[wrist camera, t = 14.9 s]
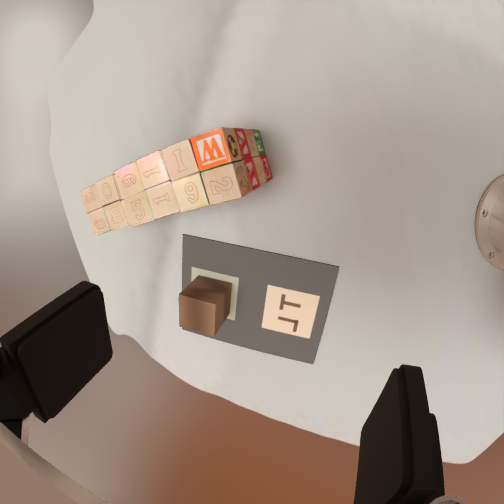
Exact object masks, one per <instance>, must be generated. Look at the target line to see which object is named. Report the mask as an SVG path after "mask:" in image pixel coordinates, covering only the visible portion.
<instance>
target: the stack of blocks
mask: <svg viewBox="0 0 504 504" xmlns="http://www.w3.org/2000/svg"><path fill="white" fill-rule="evenodd" d="M114 173H115V174H112V175H110V176H108V177H106V178H104V179H101V180H99V181H97V182H96V183H95V184H93V185H91V186H89V187H87V188H85V189H83V190H81V191H80V192H81V195H82V198H83V201H84V205H85V208H86V211H87V213H88V216H89V219H90V222H91V225H92V227H93V230H94V233H95V236H97V235H100V234H103V233H106V232H109V231H113V230H116V229H119V228H122V227H125V226H128V225H132V226H133V227H134V226H137V225H140V224H144V223H147V222H150V221H153V220H156V219H158V218H160V217H164V216H167V215H170V214H174V213H177V212H186V211H189V210H193V209H196V208H200V207H204V206H208V205H210V204H211V205H214V204H217V203H222V202H226V201H230V200H234V199H238V198H241V197H243V196H245V195H246V194H248V193H249V192H251V191H253V190H255V189H257V188H258V187H260V186H261V185H262V184H263V183H266V182H268V181H269V180H271V179H272V174H271V171H270V167H269V163H268V160H267V156H266V154H265V151H264V147H263V144H262V140H261V136H260V133H259V130H255V129H250V130H247V129H242V128H223V127H221V128H218V129H215V130H212V131H209V132H207V133H204V134H201V135H199V136H196V137H193V138H191V139H186V140H184V141H181V142H179V143H177V144H174V145H172V146H170V147H167V148H165V149H163V150H158V151H156V152H153V153H152V154H149V155H147V156H145V157H143V158H140V159H138V160H137V161H135V162H133V163H130V164H128V165H126V166H124V167H122V168H120V169H118V170H116V171H114Z"/></svg>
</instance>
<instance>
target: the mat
mask: <svg viewBox="0 0 504 504" xmlns="http://www.w3.org/2000/svg"><path fill="white" fill-rule="evenodd" d="M338 269H339V267H338V266H334V265H329V264H324V263H319V262H315V261H310V260H305V259H300V258H296V257H291V256H286V255H281V254H277V253H272V252H267V251H262V250H257V249H253V248H248V247H243V246H238V245H233V244H229V243H224V242H219V241H214V240H209V239H205V238H200V237H195V236H190V235H185V234H183V255H182V291H183V290H184V289H185V288H186V287H187V286H188V285H189V284H190V283H191V282H192V281H193V280H194V279H195V278H196V277H197V276H198V275H201V276H205V277H209V278H213V279H218V280H222V281H226V282H230V283H232V291H231V304H230V314H229V315H228V317H227V318H226V320H225V321H224V323H223V324H222V326H221V327H220V329H219V330H218V332H217V333H216V335H215V336H214V337H213V336H210V335H206V334H203V333H200V332H196V331H193V330H190V329H186V328H183V327H182V329H183V330H187V331H190V332H193V333H196V334H200V335H203V336H206V337H210V338H213V339H216V340H220V341H223V342H227V343H230V344H234V345H238V346H241V347H245V348H249V349H253V350H256V351H260V352H264V353H268V354H272V355H276V356H280V357H284V358H288V359H293V360H297V361H301V362H306V363H310V364H313V363H314V359H315V356H316V352H317V349H318V346H319V342H320V339H321V335H322V331H323V328H324V324H325V320H326V317H327V313H328V309H329V305H330V301H331V297H332V293H333V289H334V285H335V281H336V277H337V273H338Z"/></svg>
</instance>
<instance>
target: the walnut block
mask: <svg viewBox="0 0 504 504" xmlns="http://www.w3.org/2000/svg"><path fill="white" fill-rule="evenodd" d="M231 291H232V283H230V282H226V281H222V280H218V279H213V278H209V277H205V276H201V275H198V276H197V277H196V278H195V279H194V280H193V281H192V282H191V283H190V284H189V285H188V286H187V287H186V288H185V289H184V290H183V291H182V292H181V293H180V294H179V325H180V327H183V328H186V329H190V330H193V331H196V332H200V333H203V334H206V335H210V336H213V337H214V336H215V335H216V333H217V332H218V330H219V329H220V327H221V326H222V324H223V323H224V321H225V320H226V318H227V317H228V315H229V314H230V304H231Z"/></svg>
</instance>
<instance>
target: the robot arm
mask: <svg viewBox="0 0 504 504" xmlns="http://www.w3.org/2000/svg"><path fill="white" fill-rule="evenodd" d="M483 210H484V213H482V212H483ZM475 232H476V238H477V242H478V245H479V248H480V250H481V252H482V253H483V255H484V256H485V258H486V259H487V260H488V261H489V262H490V263H491V264H492V265H493V266H495V267H497V268H498V269H501V270H504V175H502V176H500V177H499V178H497V179H496V180H494V181H493V183H492V184H491V185H490V186H489V187H488V188H487V190H486V191H485V193H484V194H483V196H482V198H481V201H480V203H479V206H478V210H477V214H476V221H475ZM489 253H490V254H489ZM0 343H1V345H2V347H1V348H0V504H112V503H110V502H108V501H107V500H105V499H103V498H101V497H100V496H98V495H96V494H95V493H93V492H91V491H90V490H88V489H87V488H85V487H83V486H82V485H80V484H79V483H77V482H76V481H74V480H73V479H71V478H70V477H68V476H66V475H65V474H64V473H62V472H61V471H60V470H58V469H57V468H55V467H54V466H53V465H51V464H50V463H49V462H47V461H46V460H45V459H43V458H42V457H41V456H39V455H38V454H37V453H36V452H34V451H33V450H32V449H31V448H29V447H28V432H29V414H30V413H31V412H33V413H34V415H35V416H36V417H37V418H38V419H40V420H41V421H42V422H44V423H46V422H47V421H48V420H49V419H50V418H54V417H55V416H56V415H57V414H58V413H59V412H60V411H61V410H62V409H63V408H64V407H65V406H66V405H67V404H68V403H69V402H70V400H72V399H73V398H74V397H75V396H76V394H77V393H78V392H79V391H80V390H81V389H82V388H83V387H84V386H85V385H86V384H87V383H88V382H89V381H90V380H91V379H92V378H93V377H94V376H95V375H96V374H97V373H98V372H99V371H100V370H101V369H102V368H103V367H104V366H105V365H106V364H107V363H108V362H109V361H110V359H111V358H112V354H113V351H112V346H111V341H110V335H109V330H108V323H107V317H106V311H105V304H104V297H103V293H102V291H101V290H100V287H99V286H98V285H95V284H93V283H90V282H87V281H82V282H80V283H79V284H77V285H76V286H74V287H73V288H71V289H70V290H68V291H66V292H65V293H64V294H62V295H60V296H59V297H57V298H56V299H55V300H53V301H52V302H50V303H49V304H47V305H46V306H44V307H43V308H41V309H40V310H38V311H37V312H35V313H34V314H33V315H31V316H30V317H28V318H27V319H25V320H24V321H23V322H21V323H20V324H18V325H17V326H16V327H14V328H13V329H11V330H10V331H9V332H7V333H6V334H4V335H3V336H2V337H0ZM444 492H445V491H444V477H443V467H442V457H441V449H440V441H439V434H438V427H437V421H436V417H435V415H434V414H431V413H429V406H428V400H427V394H426V389H425V383H424V378H423V373H422V369H421V368H420V367H417V366H410V365H404V364H403V365H401V366H400V368H399V369H397V368H394V369H393V371H392V373H391V375H390V377H389V379H388V381H387V383H386V385H385V387H384V389H383V391H382V393H381V395H380V397H379V398H378V400H377V402H376V404H375V406H374V408H373V410H372V411H371V413H370V415H369V417H368V419H367V420H366V422H365V424H364V426H363V428H362V431H361V438H360V451H359V462H358V472H357V482H356V490H355V498H354V504H467V503H466V502H465V501H464V500H463V499H461V498H459V497H457V496H452V495H447V496H445V493H444Z"/></svg>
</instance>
